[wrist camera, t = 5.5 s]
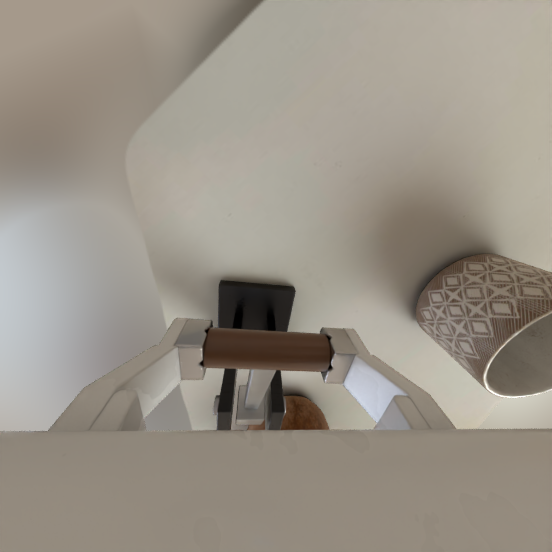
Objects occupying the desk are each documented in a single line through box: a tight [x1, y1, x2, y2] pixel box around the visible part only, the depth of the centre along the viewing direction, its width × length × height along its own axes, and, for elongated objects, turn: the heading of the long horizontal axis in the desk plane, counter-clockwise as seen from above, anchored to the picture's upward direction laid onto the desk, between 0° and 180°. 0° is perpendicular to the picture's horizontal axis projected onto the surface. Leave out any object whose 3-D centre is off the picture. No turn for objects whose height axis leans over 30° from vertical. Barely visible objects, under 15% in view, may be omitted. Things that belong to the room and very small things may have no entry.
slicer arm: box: [203, 327, 331, 425], centre depth 13 cm, size 14×5×2 cm, turn 172°
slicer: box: [213, 280, 295, 430], centre depth 21 cm, size 12×9×13 cm
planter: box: [416, 254, 552, 398], centre depth 23 cm, size 13×13×10 cm
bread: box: [247, 396, 330, 430], centre depth 35 cm, size 16×29×11 cm, turn 174°
